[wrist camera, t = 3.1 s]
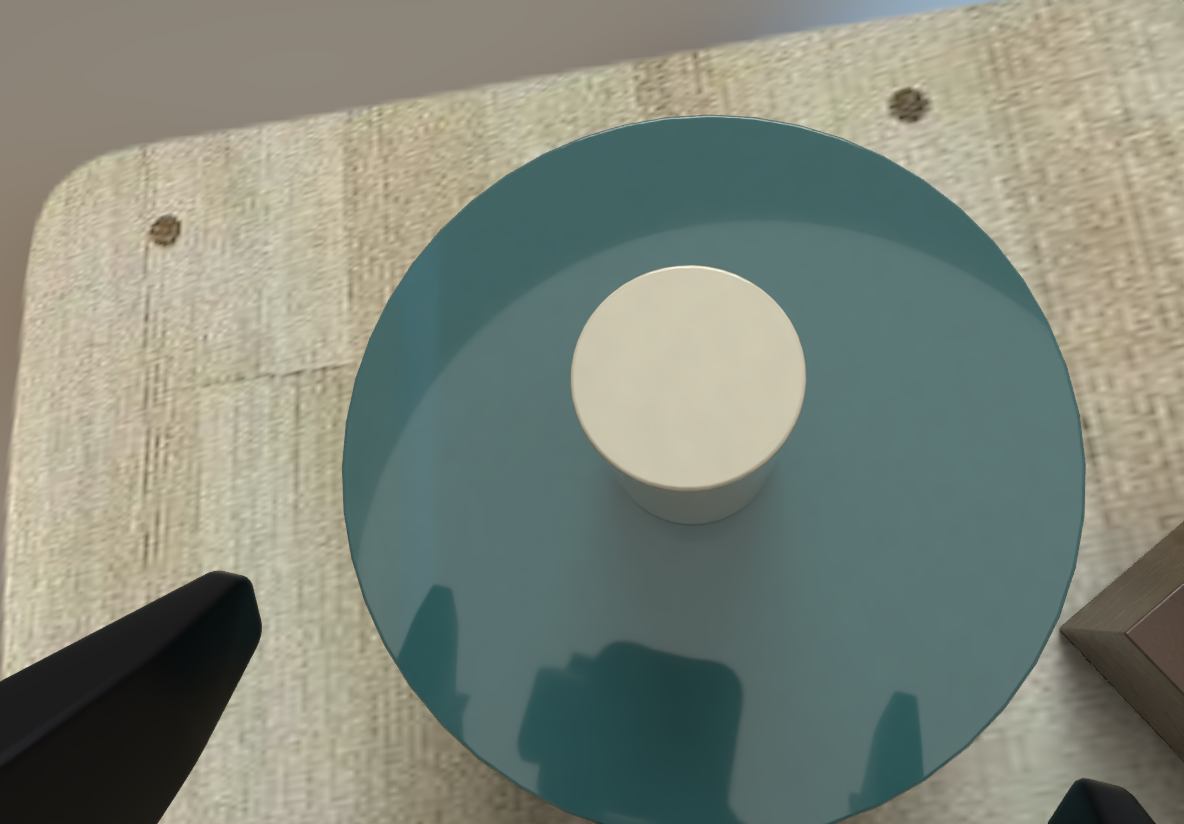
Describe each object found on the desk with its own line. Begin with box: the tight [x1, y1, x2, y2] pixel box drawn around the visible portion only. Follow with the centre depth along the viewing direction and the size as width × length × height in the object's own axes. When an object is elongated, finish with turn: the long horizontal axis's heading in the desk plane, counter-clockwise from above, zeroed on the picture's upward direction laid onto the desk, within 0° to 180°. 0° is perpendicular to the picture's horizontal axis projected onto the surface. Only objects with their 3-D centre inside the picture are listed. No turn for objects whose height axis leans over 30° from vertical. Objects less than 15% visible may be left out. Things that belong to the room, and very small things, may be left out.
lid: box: [342, 115, 1086, 824], centre depth 11 cm, size 12×12×5 cm
